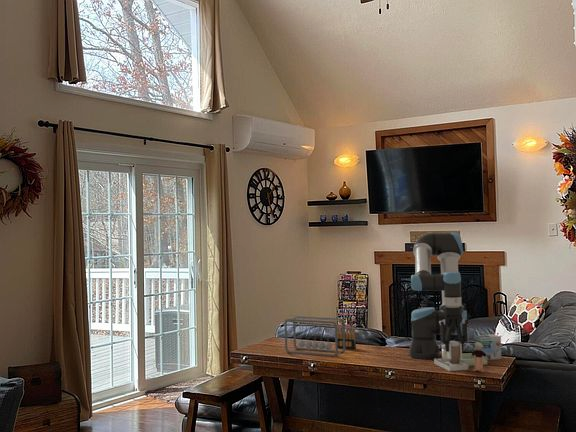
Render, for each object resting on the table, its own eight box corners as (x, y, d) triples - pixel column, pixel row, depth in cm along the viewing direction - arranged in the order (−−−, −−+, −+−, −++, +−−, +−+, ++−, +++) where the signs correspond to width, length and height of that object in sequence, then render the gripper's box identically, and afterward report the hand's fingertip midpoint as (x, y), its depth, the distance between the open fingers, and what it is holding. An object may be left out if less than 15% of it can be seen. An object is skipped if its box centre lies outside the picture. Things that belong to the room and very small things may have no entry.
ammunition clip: (336, 348, 338) (335, 325, 338) (337, 347, 340) (336, 325, 340) (354, 349, 333) (354, 326, 333) (356, 348, 335) (355, 325, 335)
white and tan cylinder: (448, 365, 286) (447, 341, 286) (457, 364, 287) (456, 340, 287) (452, 367, 282) (451, 343, 282) (461, 367, 283) (460, 342, 283)
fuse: (440, 363, 294) (439, 344, 294) (449, 363, 295) (448, 343, 295) (444, 366, 290) (444, 346, 290) (453, 365, 290) (453, 345, 290)
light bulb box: (481, 360, 298) (481, 337, 298) (474, 357, 305) (473, 335, 305) (502, 358, 301) (501, 336, 301) (494, 356, 307) (493, 333, 307)
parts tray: (451, 361, 299) (451, 354, 299) (474, 359, 301) (474, 352, 301) (463, 366, 287) (462, 359, 287) (487, 364, 290) (487, 358, 290)
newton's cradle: (284, 352, 330) (283, 318, 330) (294, 349, 339) (293, 315, 339) (337, 357, 315) (336, 321, 315) (345, 353, 324) (344, 318, 325)
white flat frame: (434, 363, 295) (434, 357, 295) (452, 362, 297) (452, 356, 297) (449, 371, 279) (449, 365, 279) (468, 369, 281) (468, 363, 281)
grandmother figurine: (469, 371, 278) (468, 342, 278) (471, 369, 281) (470, 340, 282) (487, 372, 274) (486, 343, 274) (489, 370, 278) (488, 342, 278)
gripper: (438, 308, 279) (440, 361, 279) (474, 306, 283) (476, 358, 283) (431, 306, 287) (432, 357, 286) (466, 304, 290) (468, 355, 290)
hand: (454, 358), depth 285 cm, fingers closed on white and tan cylinder, 4 cm apart
